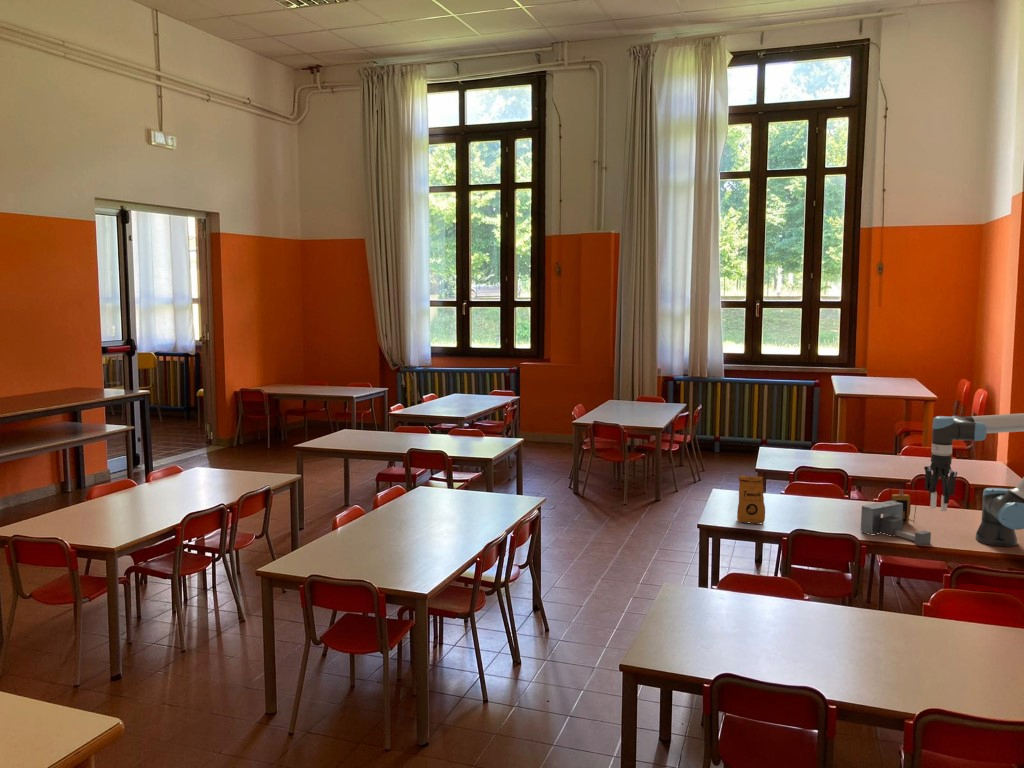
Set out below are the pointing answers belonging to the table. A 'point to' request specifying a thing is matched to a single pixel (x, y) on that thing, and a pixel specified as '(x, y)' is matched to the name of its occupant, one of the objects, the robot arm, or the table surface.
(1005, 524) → the robot arm
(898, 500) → the multimeter
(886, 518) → the plug
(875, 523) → the housing
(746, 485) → the coffee package
